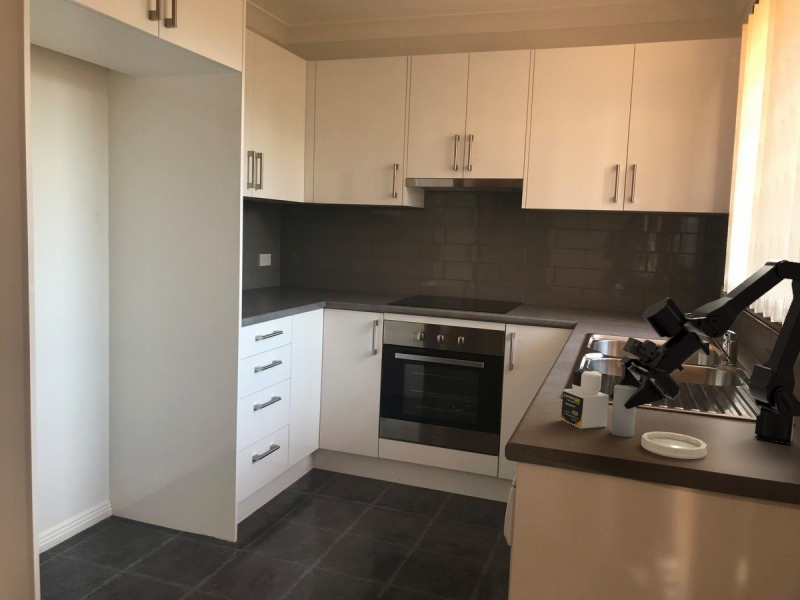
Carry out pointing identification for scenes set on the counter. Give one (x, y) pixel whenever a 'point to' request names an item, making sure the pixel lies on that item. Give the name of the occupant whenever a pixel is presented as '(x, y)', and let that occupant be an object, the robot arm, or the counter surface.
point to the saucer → (674, 445)
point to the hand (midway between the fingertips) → (618, 402)
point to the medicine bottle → (585, 401)
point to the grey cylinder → (623, 411)
